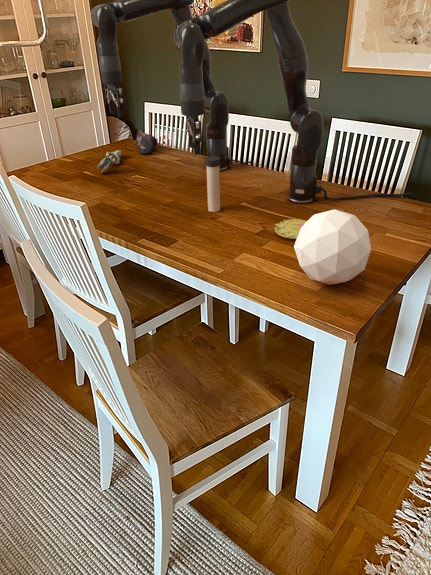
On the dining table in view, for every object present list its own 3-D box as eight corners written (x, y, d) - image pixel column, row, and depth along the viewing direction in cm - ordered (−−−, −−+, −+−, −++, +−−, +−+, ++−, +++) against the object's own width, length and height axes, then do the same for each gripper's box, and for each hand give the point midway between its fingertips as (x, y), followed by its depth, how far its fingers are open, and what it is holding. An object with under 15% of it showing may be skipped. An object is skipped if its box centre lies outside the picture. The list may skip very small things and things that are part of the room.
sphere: (306, 297, 126) (271, 236, 124) (363, 261, 128) (330, 201, 126) (334, 302, 107) (294, 231, 105) (400, 260, 109) (362, 189, 107)
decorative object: (286, 211, 157) (342, 219, 147) (286, 217, 158) (341, 226, 148) (260, 233, 142) (319, 243, 133) (260, 240, 144) (319, 251, 134)
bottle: (222, 208, 166) (221, 158, 156) (217, 212, 162) (215, 162, 152) (211, 206, 168) (209, 157, 157) (205, 210, 164) (203, 160, 154)
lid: (222, 163, 157) (222, 157, 156) (216, 167, 153) (216, 161, 152) (209, 161, 159) (209, 155, 158) (202, 166, 155) (202, 159, 154)
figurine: (101, 154, 197) (119, 141, 223) (91, 167, 200) (110, 152, 227) (114, 165, 199) (130, 151, 225) (103, 178, 203) (121, 162, 229)
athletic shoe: (143, 144, 221) (166, 143, 225) (132, 120, 233) (154, 119, 237) (142, 163, 229) (164, 162, 234) (131, 139, 241) (152, 138, 245)
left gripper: (127, 70, 159) (133, 117, 168) (113, 66, 169) (119, 111, 178) (107, 71, 156) (114, 120, 164) (94, 68, 166) (101, 113, 175)
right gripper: (208, 101, 131) (210, 155, 140) (200, 93, 143) (202, 144, 152) (184, 102, 130) (187, 157, 139) (177, 95, 142) (180, 146, 151)
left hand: (117, 115), depth 171 cm, fingers open, 8 cm apart
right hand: (195, 150), depth 145 cm, fingers open, 8 cm apart
